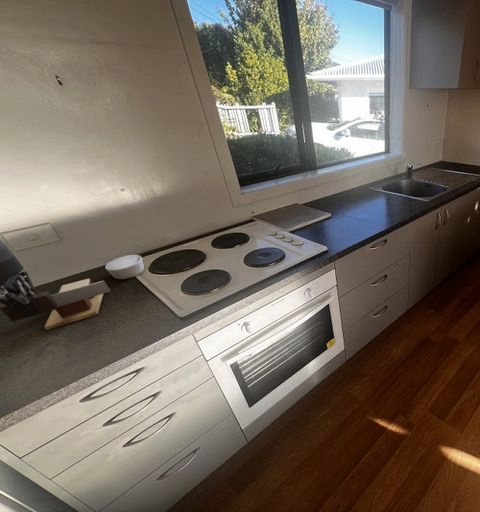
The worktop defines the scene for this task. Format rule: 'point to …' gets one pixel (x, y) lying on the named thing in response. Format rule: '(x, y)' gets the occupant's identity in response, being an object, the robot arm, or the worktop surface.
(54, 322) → the board
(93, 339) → the worktop surface
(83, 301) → the cake slice
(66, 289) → the cake
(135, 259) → the ramekin
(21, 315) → the knife
